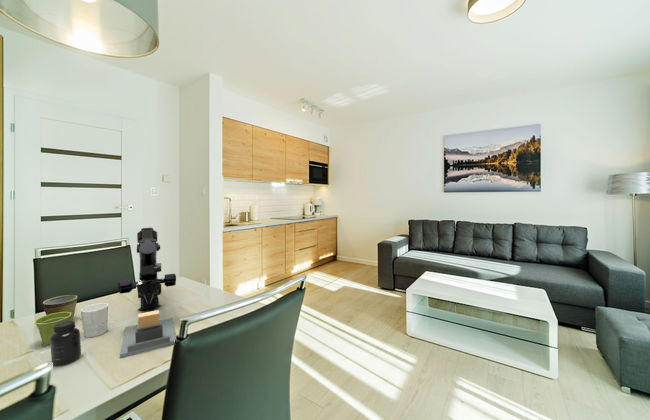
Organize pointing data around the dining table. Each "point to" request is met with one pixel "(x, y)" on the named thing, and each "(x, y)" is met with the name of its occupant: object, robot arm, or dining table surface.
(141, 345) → the switch board
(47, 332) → the plant pot
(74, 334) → the supplement bottle
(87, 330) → the white cup
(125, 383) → the dining table surface
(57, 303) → the ceramic cup
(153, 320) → the lever
